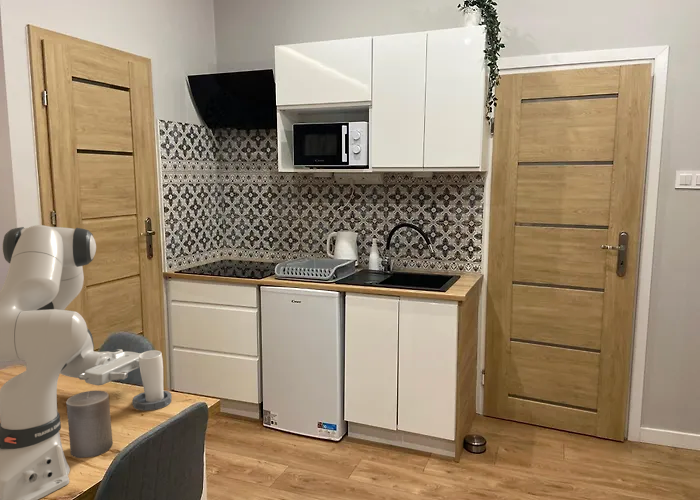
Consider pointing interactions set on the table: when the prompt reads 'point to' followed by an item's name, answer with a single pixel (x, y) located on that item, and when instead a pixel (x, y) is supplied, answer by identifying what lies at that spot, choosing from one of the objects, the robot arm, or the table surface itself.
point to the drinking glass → (152, 375)
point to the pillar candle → (89, 423)
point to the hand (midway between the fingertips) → (136, 370)
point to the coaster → (143, 405)
